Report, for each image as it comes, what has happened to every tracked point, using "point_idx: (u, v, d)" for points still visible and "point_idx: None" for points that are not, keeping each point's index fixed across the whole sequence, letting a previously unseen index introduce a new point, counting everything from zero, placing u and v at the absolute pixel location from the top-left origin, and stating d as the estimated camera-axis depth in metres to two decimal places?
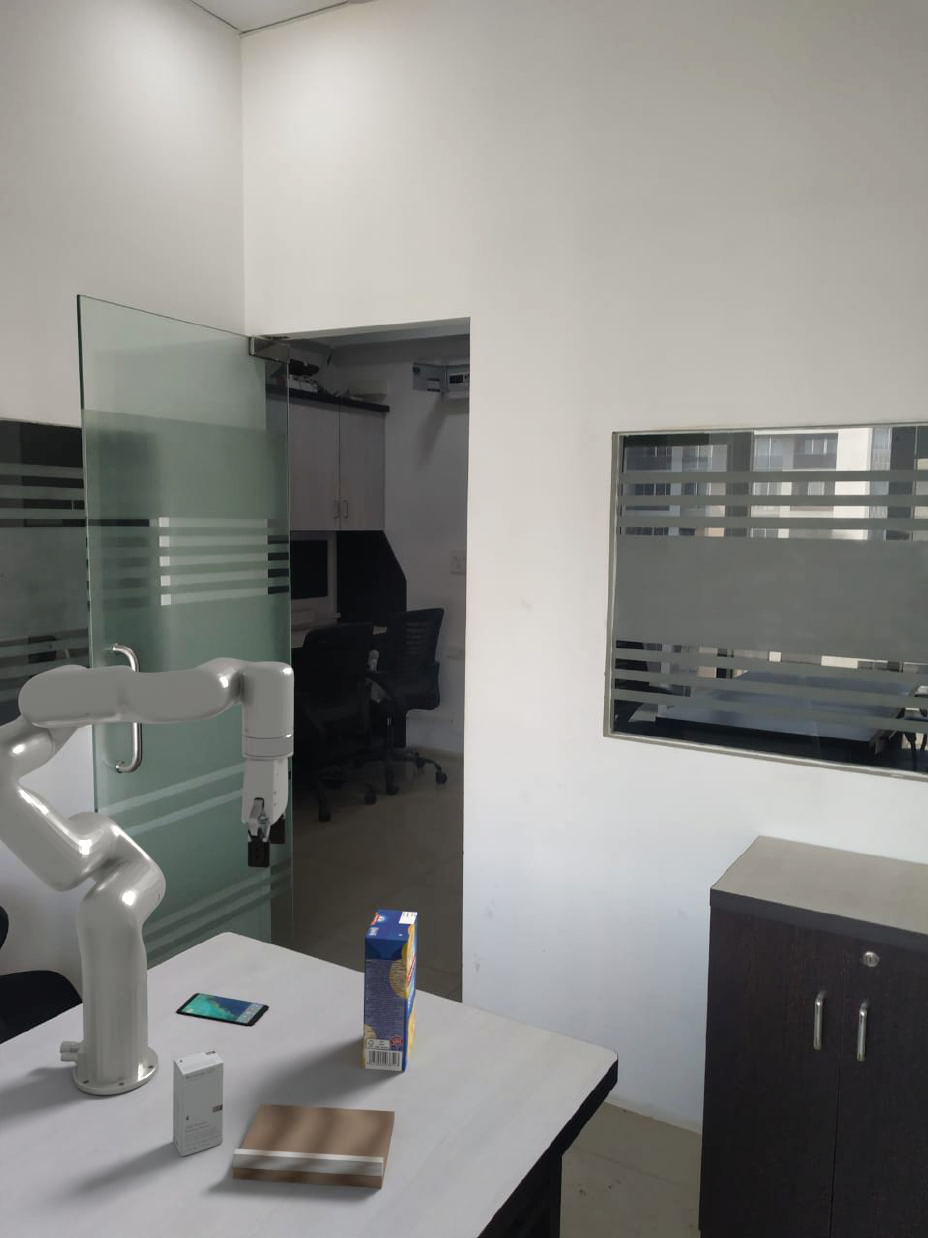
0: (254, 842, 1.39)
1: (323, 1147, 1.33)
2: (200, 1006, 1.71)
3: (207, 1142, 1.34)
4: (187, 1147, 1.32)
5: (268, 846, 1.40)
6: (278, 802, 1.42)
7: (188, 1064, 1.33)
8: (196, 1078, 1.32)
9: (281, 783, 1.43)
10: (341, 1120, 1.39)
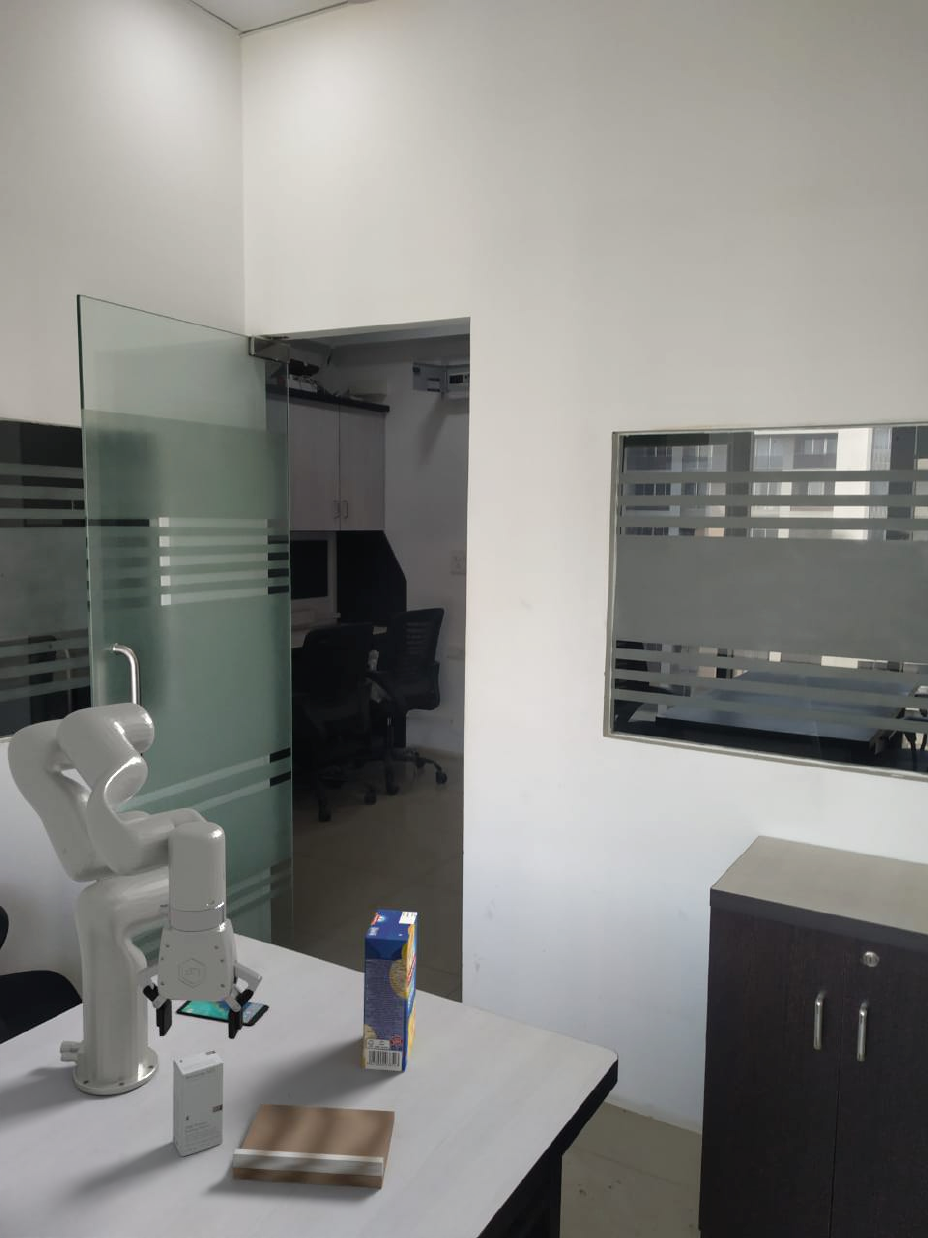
0: (240, 1008, 1.32)
1: (323, 1147, 1.33)
2: (200, 1006, 1.71)
3: (207, 1142, 1.34)
4: (187, 1147, 1.32)
5: None
6: None
7: (188, 1065, 1.33)
8: (196, 1078, 1.32)
9: (214, 944, 1.34)
10: (341, 1120, 1.39)
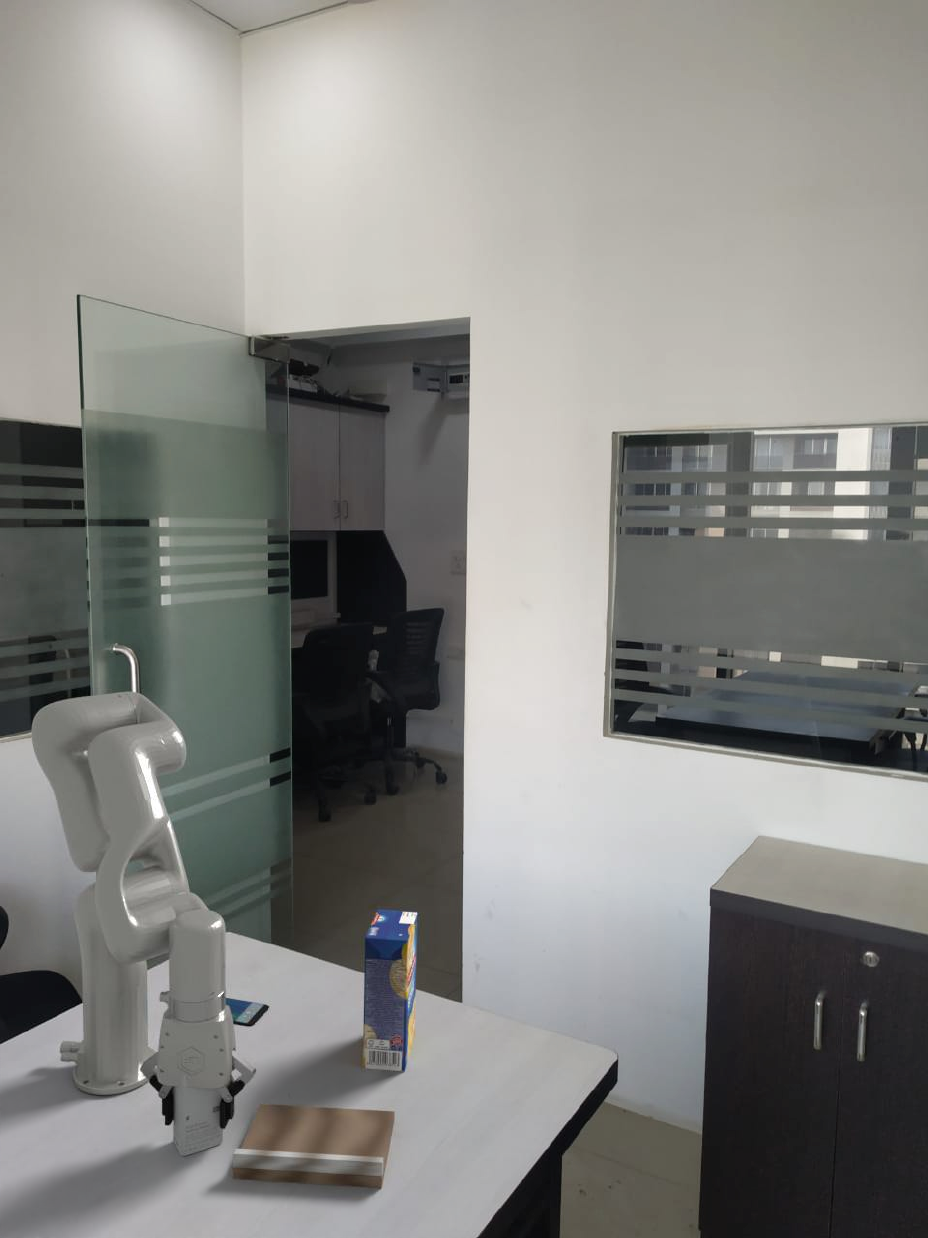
0: (232, 1098, 1.34)
1: (323, 1147, 1.33)
2: None
3: (207, 1142, 1.34)
4: (187, 1147, 1.32)
5: None
6: None
7: None
8: None
9: None
10: (341, 1120, 1.39)
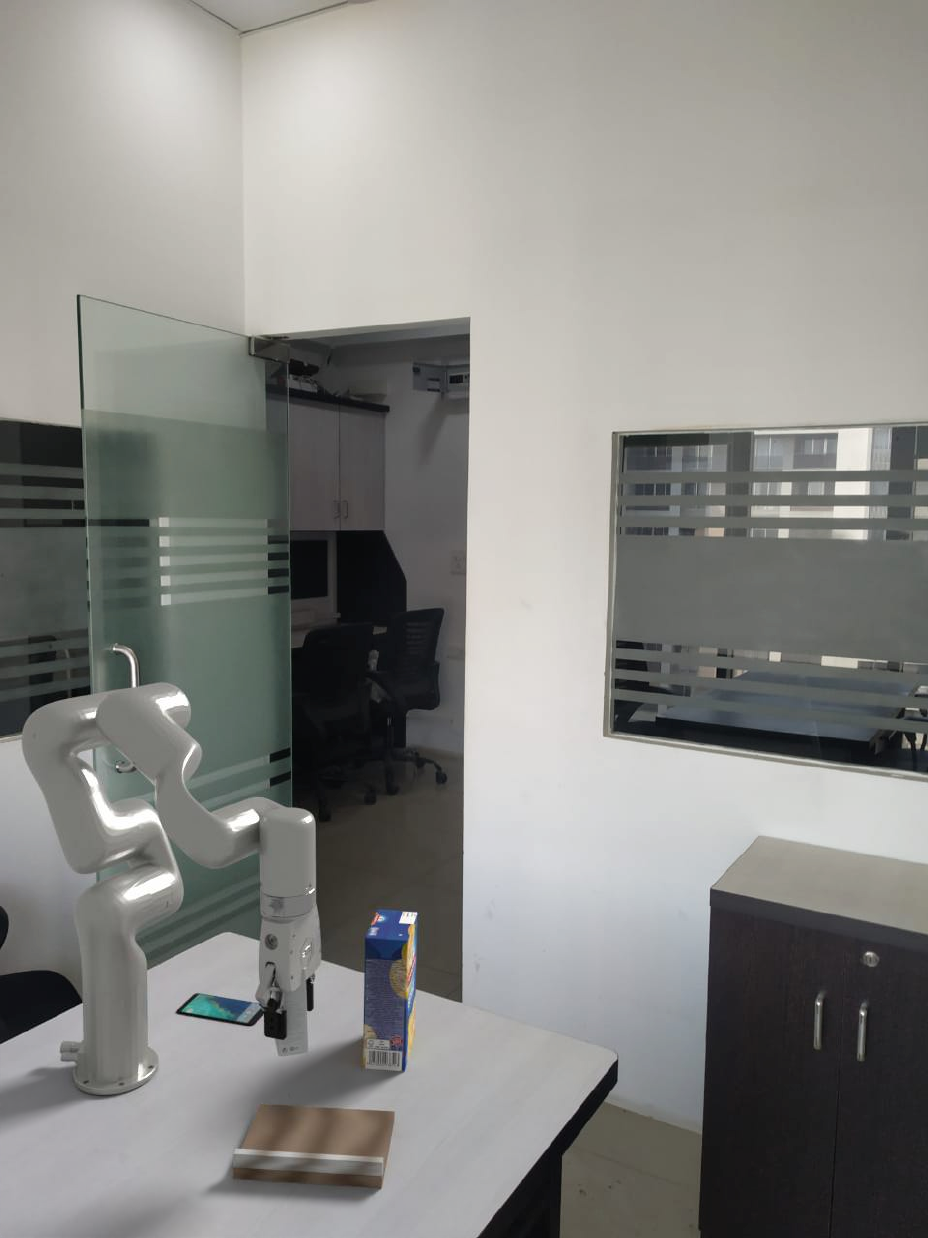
0: None
1: (323, 1147, 1.33)
2: (200, 1006, 1.71)
3: None
4: None
5: None
6: None
7: None
8: None
9: None
10: (341, 1120, 1.39)
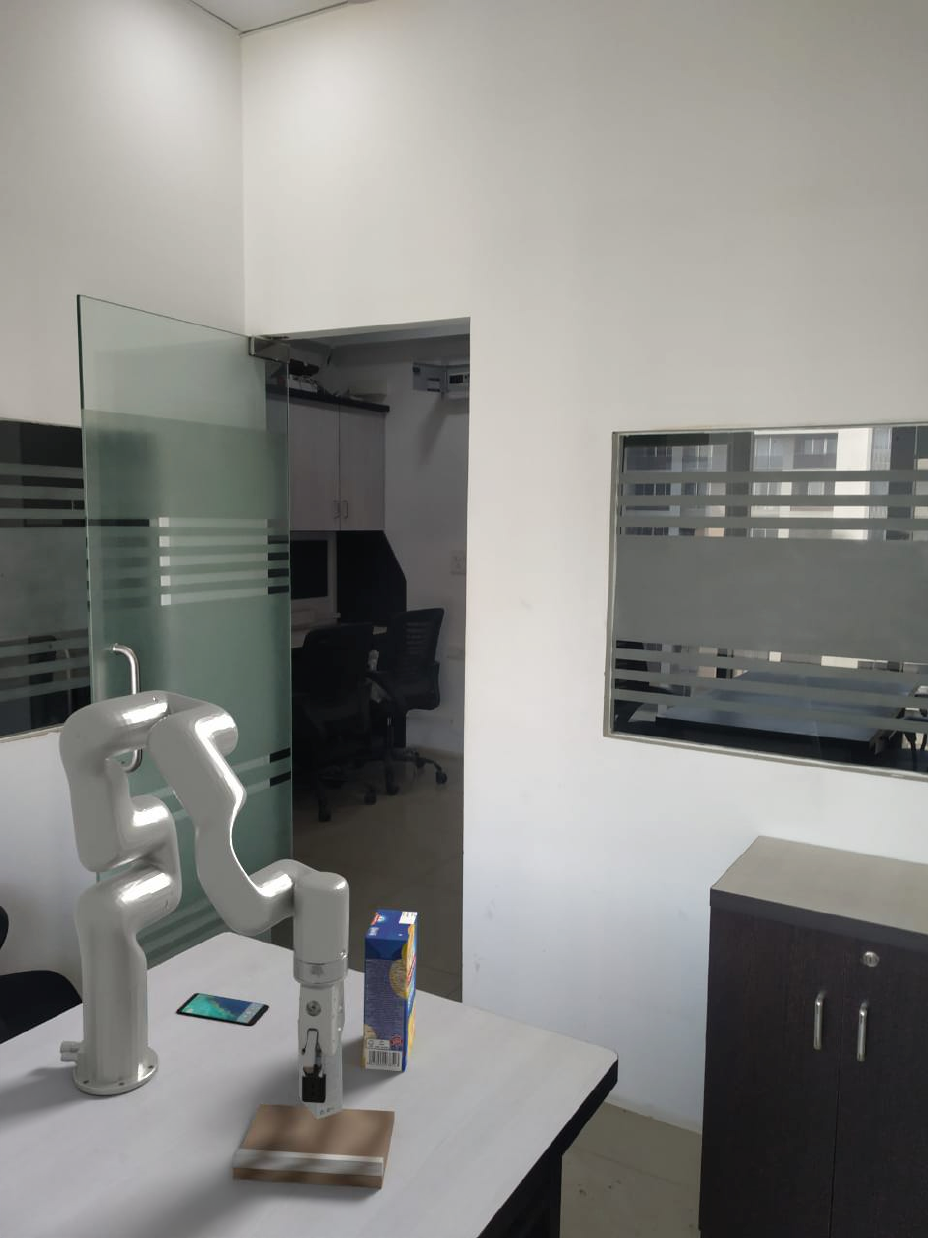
0: None
1: (323, 1147, 1.33)
2: (200, 1006, 1.71)
3: None
4: None
5: None
6: None
7: None
8: None
9: None
10: (341, 1120, 1.39)
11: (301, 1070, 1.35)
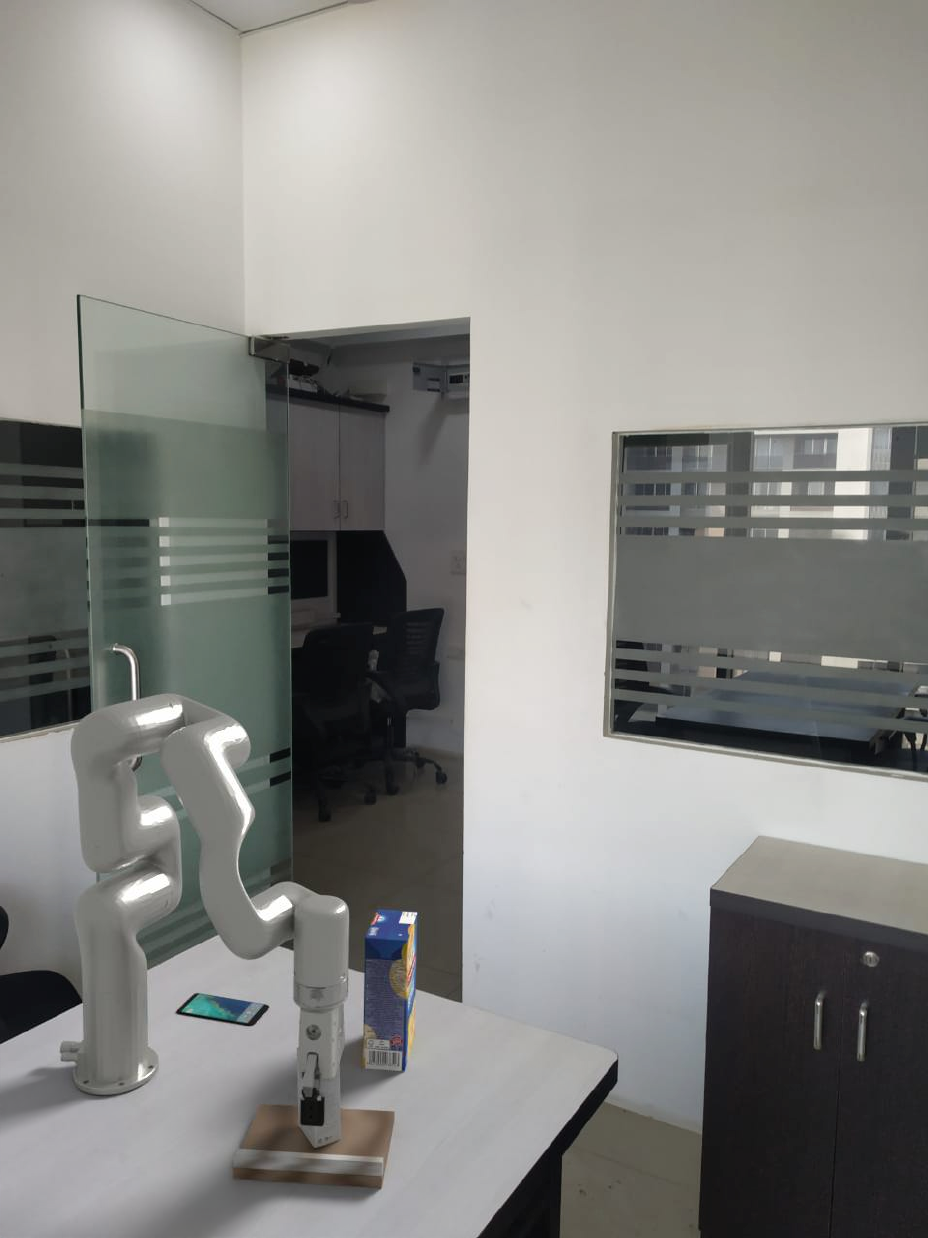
0: None
1: (323, 1147, 1.33)
2: (200, 1006, 1.71)
3: None
4: None
5: None
6: None
7: None
8: None
9: None
10: (341, 1120, 1.39)
11: (300, 1098, 1.36)
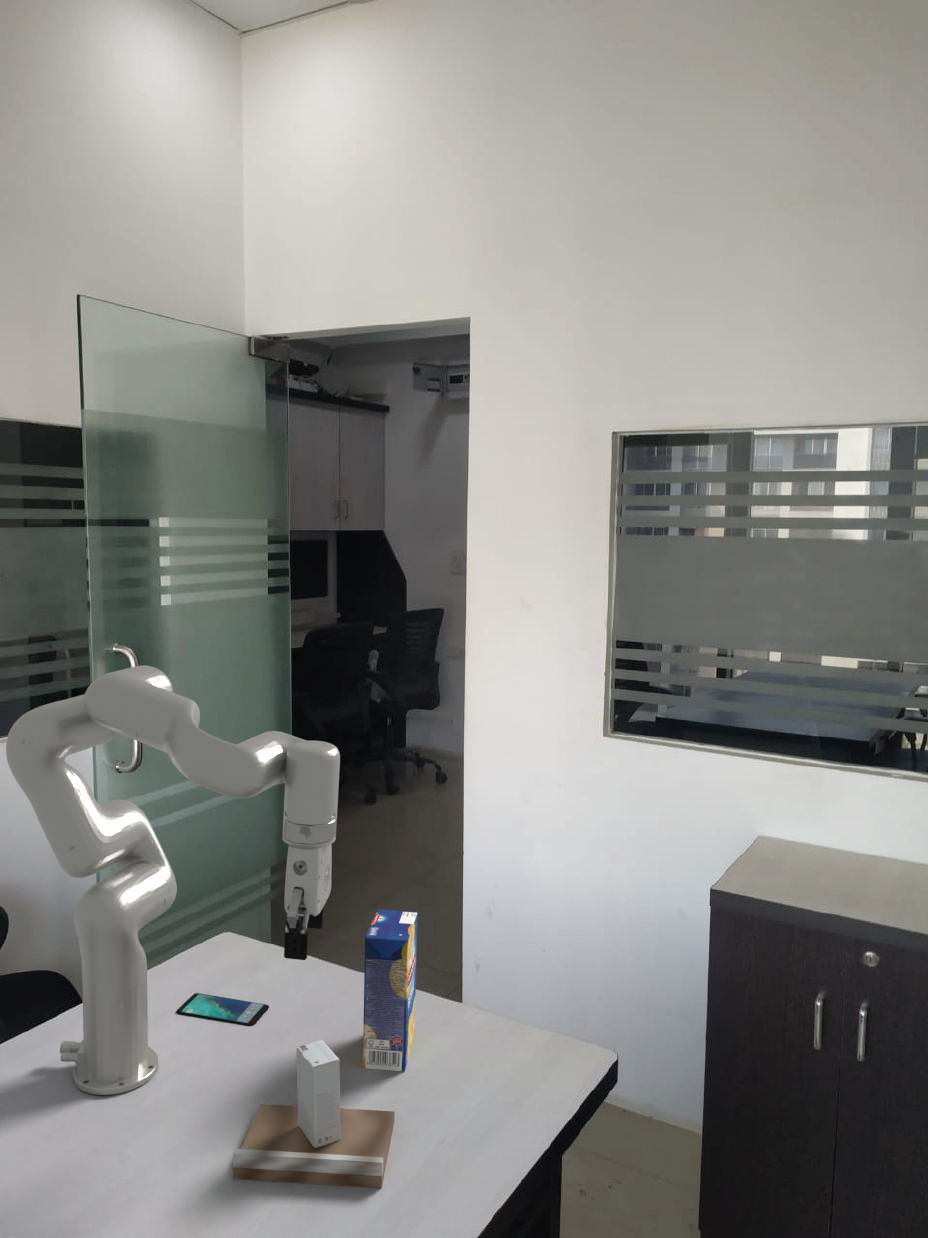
0: None
1: (323, 1147, 1.33)
2: (200, 1006, 1.71)
3: None
4: None
5: None
6: None
7: (324, 1057, 1.33)
8: None
9: None
10: (341, 1120, 1.39)
11: (300, 1098, 1.36)
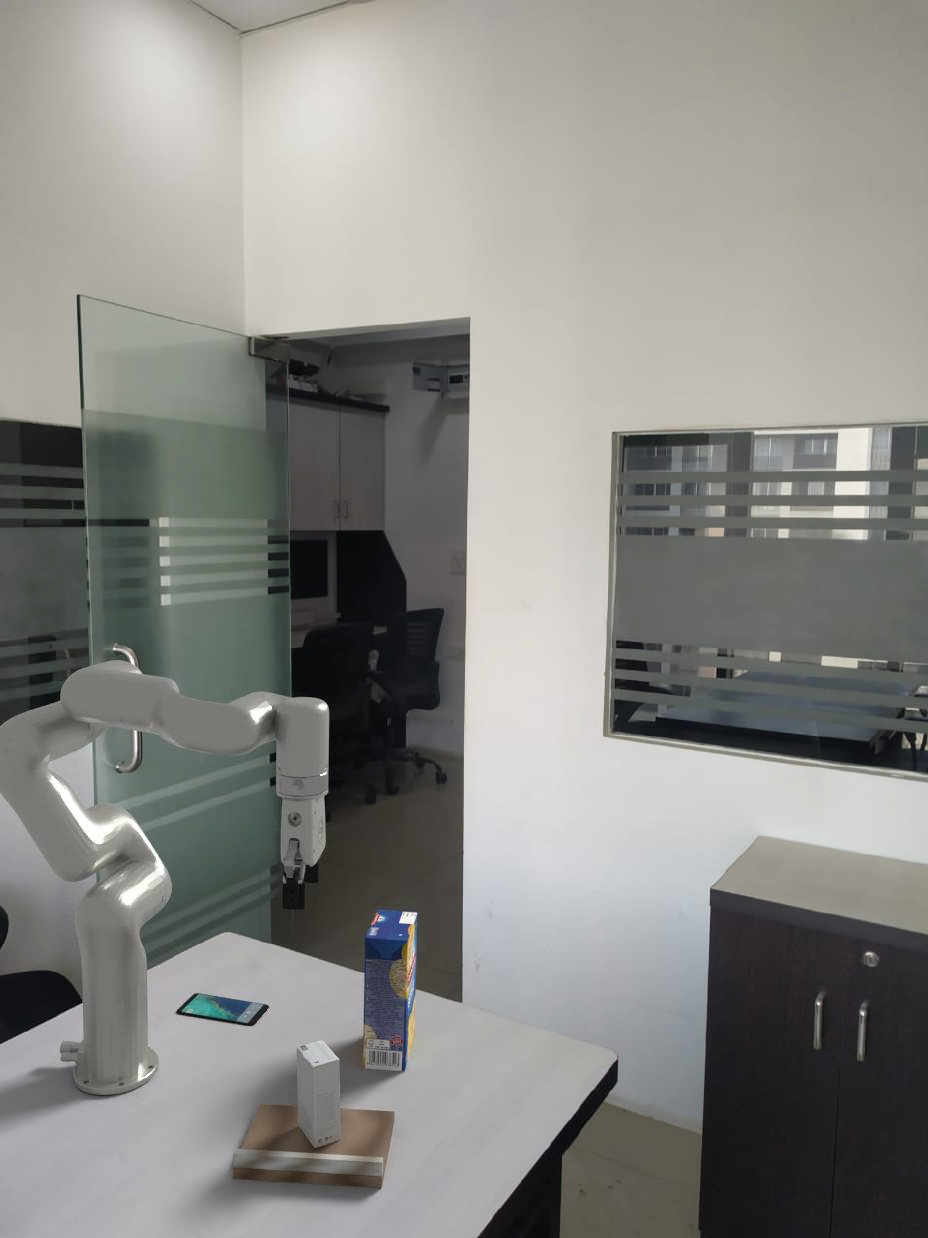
0: None
1: (323, 1147, 1.33)
2: (200, 1006, 1.71)
3: None
4: None
5: (299, 860, 1.47)
6: None
7: (324, 1057, 1.33)
8: None
9: None
10: (341, 1120, 1.39)
11: (300, 1098, 1.36)
